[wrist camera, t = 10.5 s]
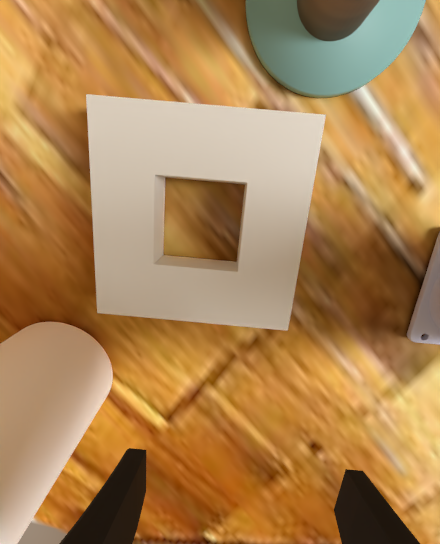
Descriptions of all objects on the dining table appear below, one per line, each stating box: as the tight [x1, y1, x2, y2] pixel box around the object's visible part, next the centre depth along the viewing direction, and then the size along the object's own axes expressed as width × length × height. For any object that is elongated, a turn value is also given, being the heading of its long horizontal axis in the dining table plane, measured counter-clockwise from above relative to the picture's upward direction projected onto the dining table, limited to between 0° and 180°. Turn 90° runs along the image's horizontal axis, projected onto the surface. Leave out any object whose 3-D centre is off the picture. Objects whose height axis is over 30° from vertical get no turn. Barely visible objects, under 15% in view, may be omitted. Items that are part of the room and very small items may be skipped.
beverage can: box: [0, 322, 113, 544], centre depth 15 cm, size 8×8×12 cm
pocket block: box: [86, 94, 326, 331], centre depth 16 cm, size 12×12×2 cm
